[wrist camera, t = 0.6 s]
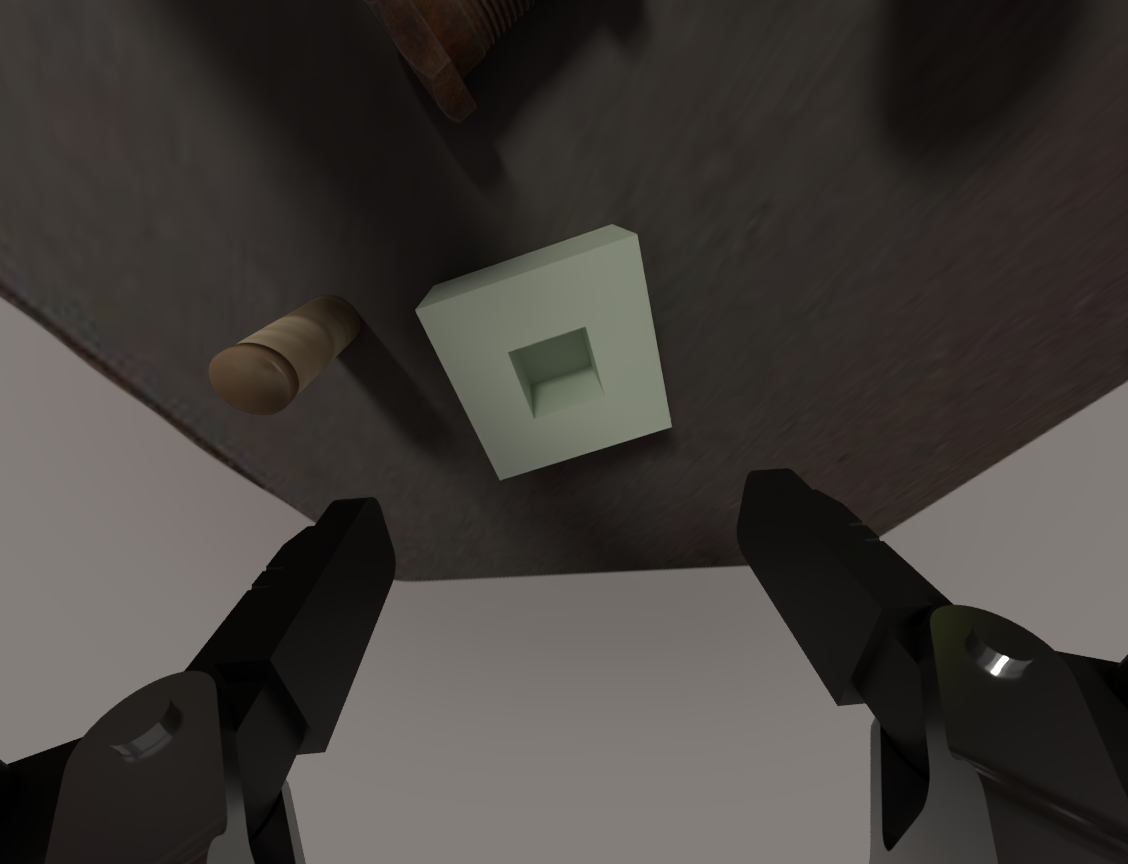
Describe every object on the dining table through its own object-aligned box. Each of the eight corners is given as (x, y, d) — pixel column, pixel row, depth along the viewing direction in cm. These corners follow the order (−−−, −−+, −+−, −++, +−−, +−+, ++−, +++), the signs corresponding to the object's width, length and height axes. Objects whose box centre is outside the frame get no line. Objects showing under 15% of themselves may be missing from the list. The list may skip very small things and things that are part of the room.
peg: (296, 303, 26) (190, 362, 17) (342, 287, 26) (259, 338, 17) (326, 349, 28) (243, 423, 19) (370, 334, 27) (306, 402, 19)
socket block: (433, 285, 26) (414, 310, 21) (611, 224, 25) (637, 234, 20) (501, 433, 32) (499, 480, 27) (646, 388, 32) (671, 426, 27)
